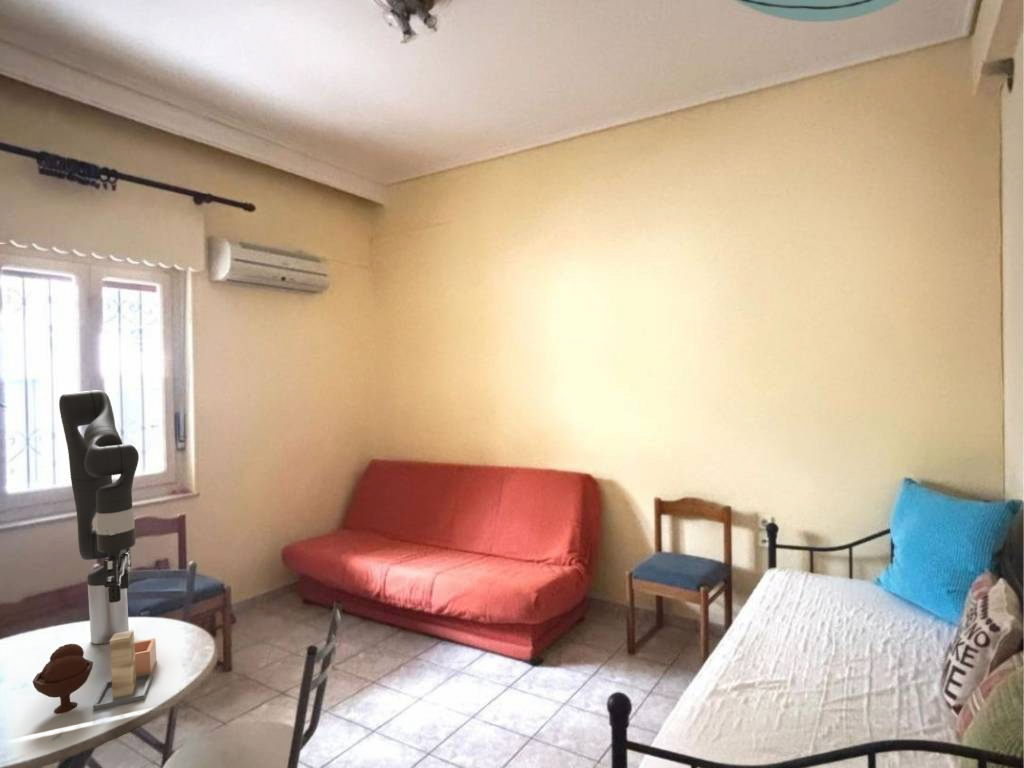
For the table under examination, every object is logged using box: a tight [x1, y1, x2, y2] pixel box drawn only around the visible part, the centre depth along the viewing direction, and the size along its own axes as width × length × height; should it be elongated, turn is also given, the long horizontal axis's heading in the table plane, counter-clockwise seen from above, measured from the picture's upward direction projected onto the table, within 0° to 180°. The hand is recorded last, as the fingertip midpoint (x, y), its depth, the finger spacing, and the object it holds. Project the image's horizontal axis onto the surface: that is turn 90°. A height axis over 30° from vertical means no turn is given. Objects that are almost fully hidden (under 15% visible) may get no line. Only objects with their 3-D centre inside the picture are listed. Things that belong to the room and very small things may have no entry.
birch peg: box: [109, 630, 136, 698], centre depth 137 cm, size 4×4×14 cm
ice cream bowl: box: [31, 643, 94, 715], centre depth 132 cm, size 11×11×15 cm
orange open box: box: [134, 638, 158, 675], centre depth 147 cm, size 8×8×7 cm
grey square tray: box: [92, 671, 154, 712], centre depth 137 cm, size 11×10×2 cm
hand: (119, 594), depth 136 cm, fingers open, 8 cm apart
